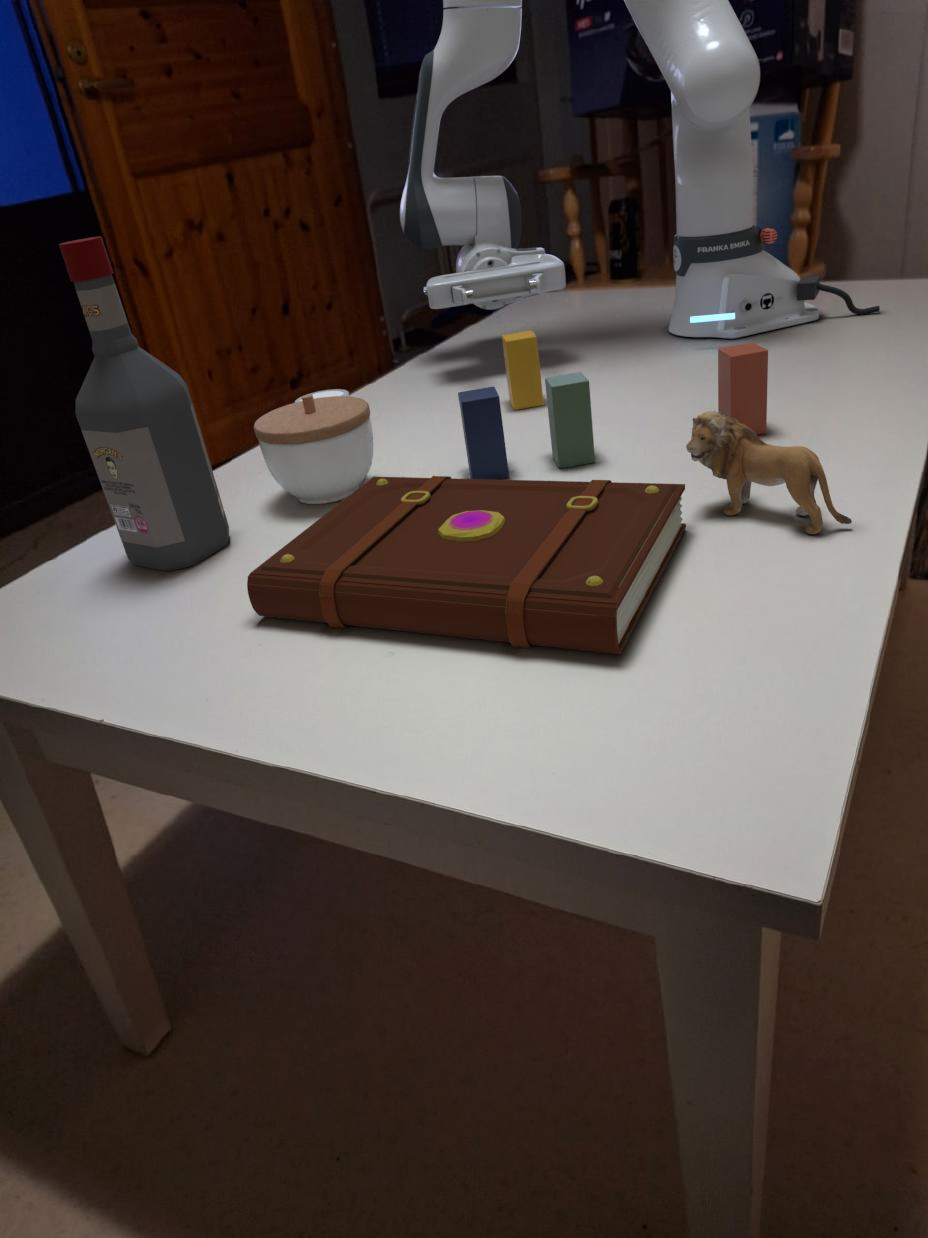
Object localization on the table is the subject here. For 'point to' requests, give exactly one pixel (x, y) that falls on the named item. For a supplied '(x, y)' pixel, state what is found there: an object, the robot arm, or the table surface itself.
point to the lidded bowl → (318, 446)
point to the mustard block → (523, 369)
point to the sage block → (570, 419)
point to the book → (480, 560)
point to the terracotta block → (744, 384)
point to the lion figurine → (759, 465)
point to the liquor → (142, 431)
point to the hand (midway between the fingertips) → (501, 292)
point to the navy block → (484, 433)
